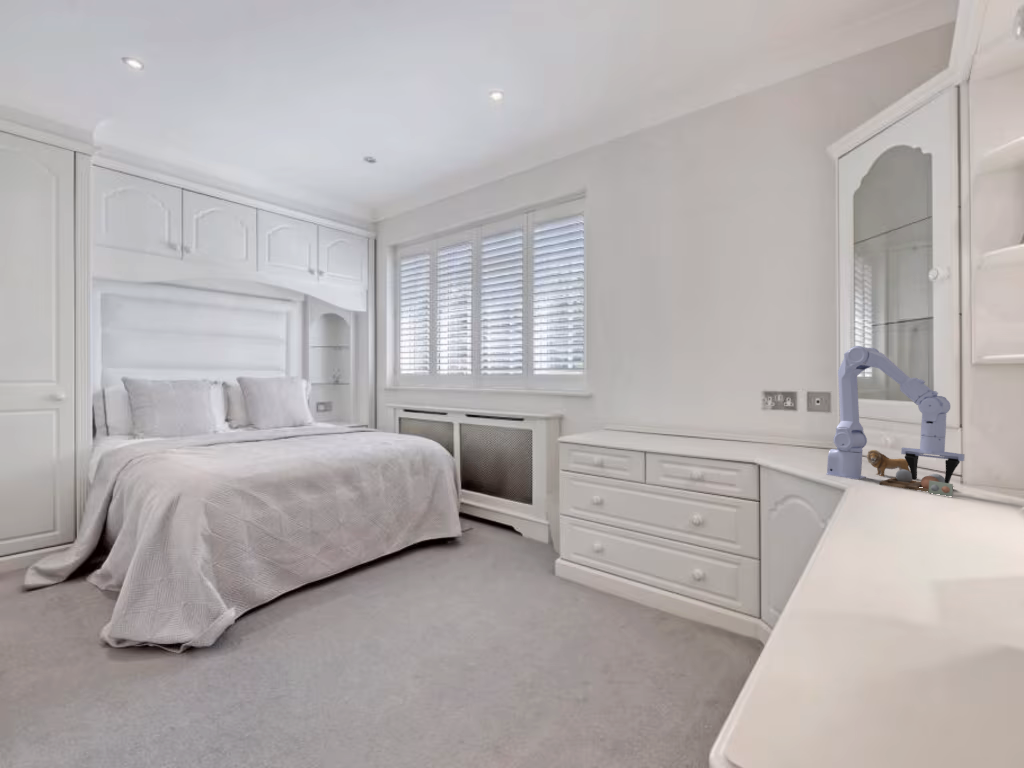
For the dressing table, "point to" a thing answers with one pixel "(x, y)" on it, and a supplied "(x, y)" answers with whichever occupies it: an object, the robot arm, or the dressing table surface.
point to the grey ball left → (904, 476)
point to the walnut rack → (903, 484)
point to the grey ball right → (938, 477)
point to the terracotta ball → (927, 481)
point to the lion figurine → (885, 462)
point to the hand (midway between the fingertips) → (930, 481)
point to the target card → (940, 488)
